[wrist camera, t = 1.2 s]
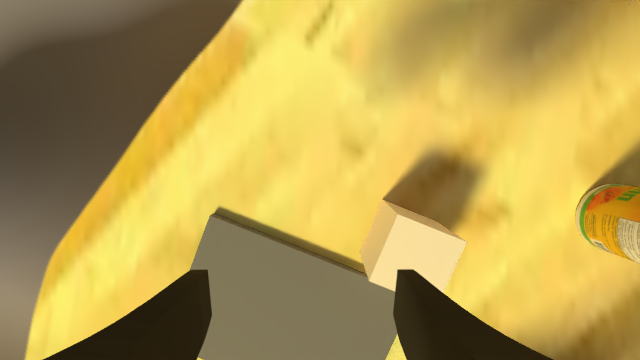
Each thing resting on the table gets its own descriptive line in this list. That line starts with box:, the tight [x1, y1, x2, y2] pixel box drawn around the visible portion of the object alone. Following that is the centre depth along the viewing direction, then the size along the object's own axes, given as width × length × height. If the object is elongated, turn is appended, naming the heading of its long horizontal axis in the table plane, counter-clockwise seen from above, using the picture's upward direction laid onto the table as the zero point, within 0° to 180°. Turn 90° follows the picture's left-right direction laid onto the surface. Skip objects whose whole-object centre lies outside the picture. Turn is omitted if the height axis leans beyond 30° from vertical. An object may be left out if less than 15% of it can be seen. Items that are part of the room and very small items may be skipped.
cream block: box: [360, 200, 467, 293], centre depth 23 cm, size 5×5×6 cm
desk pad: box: [190, 214, 397, 360], centre depth 27 cm, size 18×12×1 cm, turn 68°
